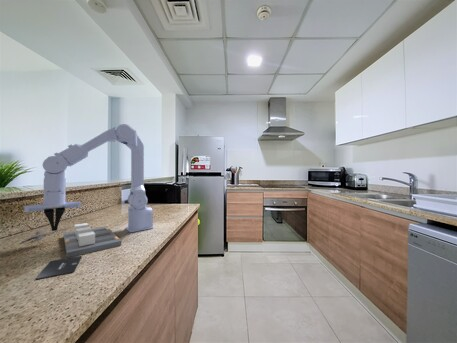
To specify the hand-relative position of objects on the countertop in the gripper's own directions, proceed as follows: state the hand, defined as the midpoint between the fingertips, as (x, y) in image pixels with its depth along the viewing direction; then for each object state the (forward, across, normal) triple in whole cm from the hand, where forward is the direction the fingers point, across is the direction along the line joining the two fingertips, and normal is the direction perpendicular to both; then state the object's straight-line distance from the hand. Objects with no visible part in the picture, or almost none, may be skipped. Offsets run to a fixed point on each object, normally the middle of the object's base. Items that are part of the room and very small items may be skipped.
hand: (54, 230), depth 67 cm
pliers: (+5, +1, -14) cm, 15 cm away
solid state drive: (+5, -1, +25) cm, 25 cm away
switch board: (+4, -10, +7) cm, 13 cm away
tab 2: (+2, -8, +7) cm, 11 cm away
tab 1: (+2, -8, 0) cm, 8 cm away
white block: (+2, -8, +15) cm, 17 cm away
